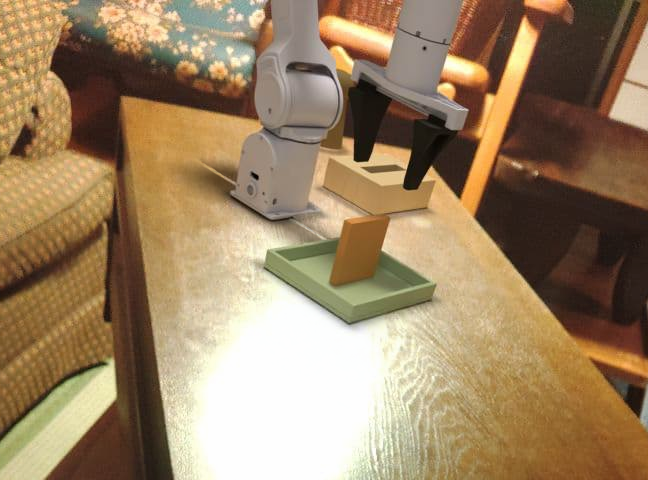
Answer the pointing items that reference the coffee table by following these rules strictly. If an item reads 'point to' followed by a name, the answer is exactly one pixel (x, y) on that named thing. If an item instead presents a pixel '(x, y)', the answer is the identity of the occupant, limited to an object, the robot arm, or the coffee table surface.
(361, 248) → the toast
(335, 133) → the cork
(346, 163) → the toaster
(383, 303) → the tray
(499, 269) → the coffee table surface
